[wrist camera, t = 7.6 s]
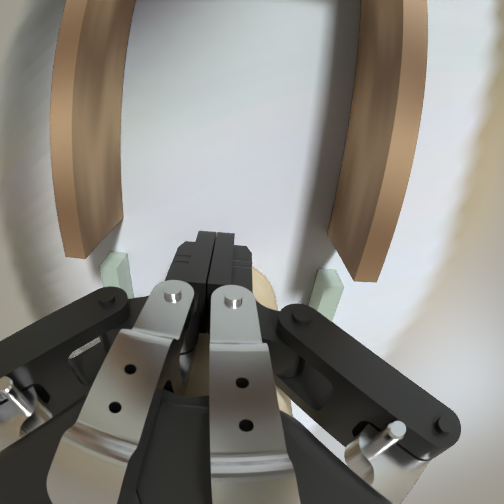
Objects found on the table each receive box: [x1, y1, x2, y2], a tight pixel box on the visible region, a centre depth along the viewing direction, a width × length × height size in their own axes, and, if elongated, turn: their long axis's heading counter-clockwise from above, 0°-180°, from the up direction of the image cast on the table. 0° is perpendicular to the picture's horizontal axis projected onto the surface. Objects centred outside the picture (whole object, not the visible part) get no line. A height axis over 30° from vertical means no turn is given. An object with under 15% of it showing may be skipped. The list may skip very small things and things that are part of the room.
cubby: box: [50, 0, 428, 282], centre depth 7 cm, size 16×12×4 cm
